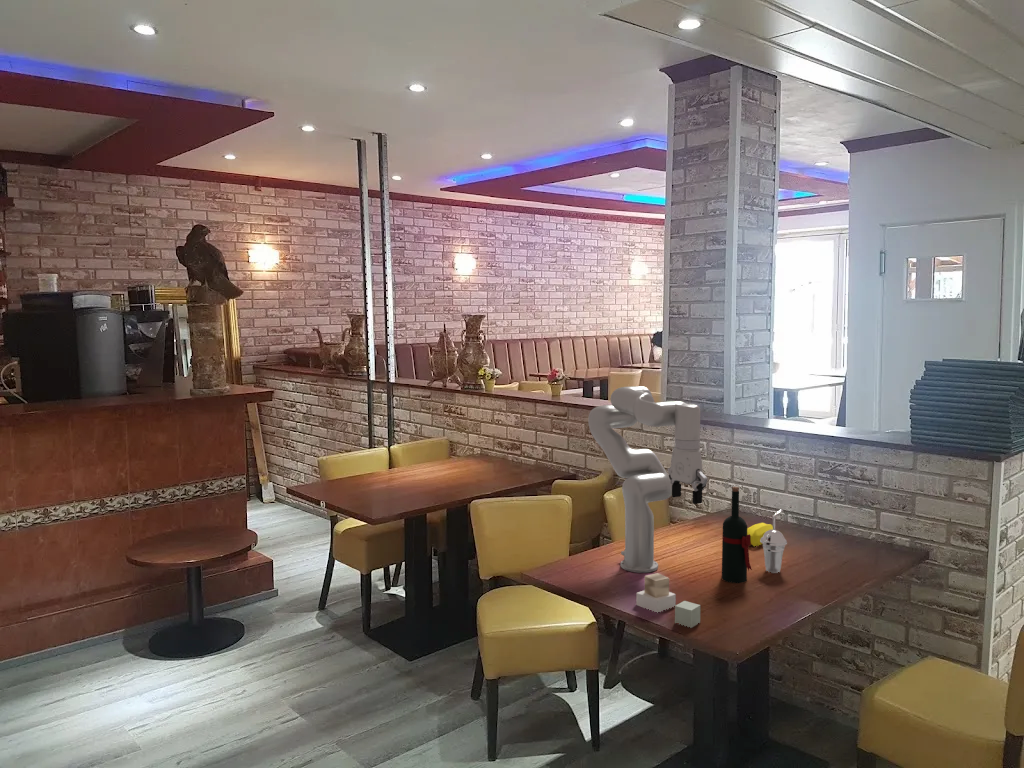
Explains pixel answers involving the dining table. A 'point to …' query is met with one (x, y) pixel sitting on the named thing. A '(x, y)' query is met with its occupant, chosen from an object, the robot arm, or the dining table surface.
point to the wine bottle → (735, 545)
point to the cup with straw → (773, 548)
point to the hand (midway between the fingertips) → (686, 499)
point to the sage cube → (687, 614)
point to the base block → (655, 601)
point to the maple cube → (657, 585)
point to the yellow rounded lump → (758, 532)
